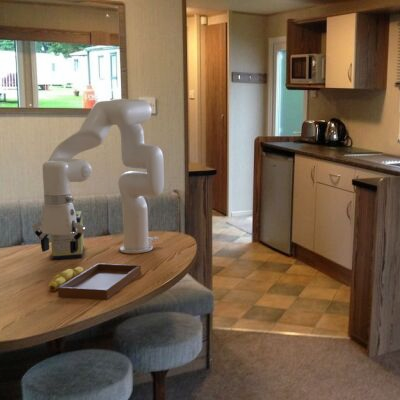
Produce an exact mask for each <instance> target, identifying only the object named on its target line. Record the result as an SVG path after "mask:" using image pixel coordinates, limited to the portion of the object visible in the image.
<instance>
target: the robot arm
mask: <svg viewBox="0 0 400 400" xmlns="http://www.w3.org/2000/svg"><path fill="white" fill-rule="evenodd" d="M152 111H153V110H152V106H151V104H150V103H149V102H148V101H147V100H145V99H140V98H139V99H136V98H113V99H110V100H107V99H106V100H103V99H102V100H98V101H96V102H94V104H93V105H92V107H91V109H90V110H89V112H88V114H87V115H86V118H85V120H83V123H82V125H81V127H80V128H79V130H77V131H76V132H74V133H73V134H72V135H70V136H69V137H67V138H65V139H64V140H63V141H61V142H60V143H58V145H57V146H56V147H55V148H54V149H53V151H52V153H51V155H50V157H49V158H48V160H47V161H45V162H44V163H43V164H42V183H43V199H44V201H43V204H42V207H41V213H40V221H38V222H36V223H34V224H33V225H32V226H31V228H32V229H33V231H34V234H35V235H36V236H37V237H38V240H40V248H41V252H42V253H45V252H47V251H49V250H50V239H49V237H48V236H51V235H68V236H69V238H70V239H71V240H72V241H70V251H71V253H75V252H77V250H78V239H79V238H80V237H81V236H82V235H83V236H84V232H85V231H86V227H85V226H84V225H83V226H82V225H80V224H78V223H77V220H76V214H75V211H76V209H75V206H74V203H72V202H74V200H75V199H74V197H73V196H71V193H70V192H71V189H70V184H71V183H83V182H85V181H88V180H89V178H90V177H91V175H92V173H93V169H92V166H91V164H90V162H88V161H87V160H84V159H80V158H74V157H75V156H77V155H78V154H80V153H83V152H86V151H89V150H92V149H94V148H98V147H99V146H101V145H102V144H103V143H104V141H105V140H106V137H107V135H108V134H109V132H110V129H111V128H112V126H114V125H115V126H117V128H118V129H119V133H120V150H121V152H120V153H121V162H122V164H123V166H124V167H126V168H130V169H138V170H139V169H142V170H146V171H136V170H131V171H125V172H123V173H122V174H121V175H120V176H119V177H118V189H119V194H120V198H121V199H120V200H121V211H122V232H123V233H122V234H123V235H122V237H123V245H121V246H119V251H120V252H121V253H124V254H142V253H147V252H151V251H152V250H154V245H152V243H155V242H158V241H159V236H153V237H152V236H149V213H148V212H149V210H148V204H147V201H146V199H145V197H146V198H157V197H160V196H161V195H162V194H163V192H164V188H165V163H164V160H165V159H164V154H163V151H162V149H161V148H160V147H159V146H158V145H157V144H149V143H148V144H147V143H145V132H144V128H143V127H142V124H144V123H147V122H148V121H149V120H150V119H151V117H152V114H153V113H152ZM77 229H78V230H79V231H78V233H77V234H76V231H77Z"/></svg>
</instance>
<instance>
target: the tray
mask: <svg viewBox="0 0 400 400" xmlns="http://www.w3.org/2000/svg"><path fill="white" fill-rule="evenodd" d="M141 274H142V266H141V264H125V263H124V264H120V263H101V262H97V263H95V264H94V265H92V266H91V267H89V268H88V269H86V270H84V272H82V273H81V274H79V275H77V276H76V277H74V278H73V279H71V280H69V281H67V282H66V283H64V284H63V285H61V286H59V287H58V289H57V296H58V298H75V299H76V298H77V299H90V300H91V299H94V300H109V299H110V298H111V297H112V296H114V295H115V294H117V292H119V291H120V290H121V289H123V288H124V287H125V286H127V285H128V284H129V283H130V282H132V281H133V280H134V279H136V278H137V277H138V276H140V275H141Z"/></svg>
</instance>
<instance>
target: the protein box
mask: <svg viewBox="0 0 400 400" xmlns="http://www.w3.org/2000/svg"><path fill="white" fill-rule="evenodd" d="M75 214H76V220H77V223H78V224H80V225H82V226H84V223H83V211H82V210H81V209H79V210H75ZM78 231H79V230H78V229H77V231H76V234H77V233H78ZM50 240H51V241H50V242H51V244H50V245H51V256H52V257H51V259H52V260H53V261H55V260H68V259H69V260H70V259H82V258H83V255H84V251H85V250H84V249H85V243H84V242H85V241H84V234H83V235H82V236H81V237H80V238H79V239H78V250H77V252H75V253H71V251H70V241H72V240H71V239H70V238H69V236H68V235H50Z"/></svg>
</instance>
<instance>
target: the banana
mask: <svg viewBox="0 0 400 400" xmlns="http://www.w3.org/2000/svg"><path fill="white" fill-rule="evenodd" d="M84 271H85V269H84V268H83V266H80V265H79V266H76V267H74V268H66V269H64V270H62V271H61V272H59V273H58V274H55V275H54V276H53V278H52V280H51V281H50V282H49V283H48V284H47V289H48V290H49V291H51V292H55V291H58V287H59V286H61V285H63V284H64V283H66V282H68V281H69V280H71V279H73V278H74V277H76V276H77V275H79V274H81V273H82V272H84Z"/></svg>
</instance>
